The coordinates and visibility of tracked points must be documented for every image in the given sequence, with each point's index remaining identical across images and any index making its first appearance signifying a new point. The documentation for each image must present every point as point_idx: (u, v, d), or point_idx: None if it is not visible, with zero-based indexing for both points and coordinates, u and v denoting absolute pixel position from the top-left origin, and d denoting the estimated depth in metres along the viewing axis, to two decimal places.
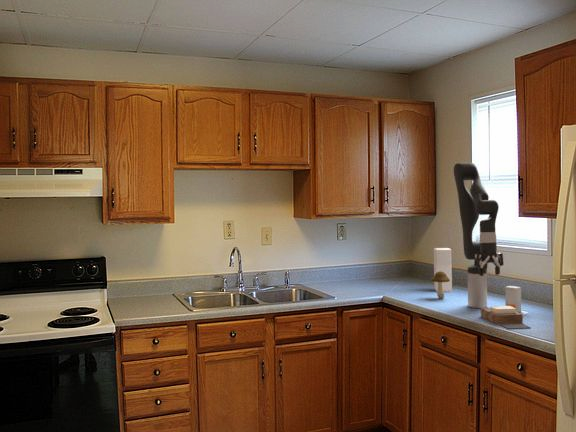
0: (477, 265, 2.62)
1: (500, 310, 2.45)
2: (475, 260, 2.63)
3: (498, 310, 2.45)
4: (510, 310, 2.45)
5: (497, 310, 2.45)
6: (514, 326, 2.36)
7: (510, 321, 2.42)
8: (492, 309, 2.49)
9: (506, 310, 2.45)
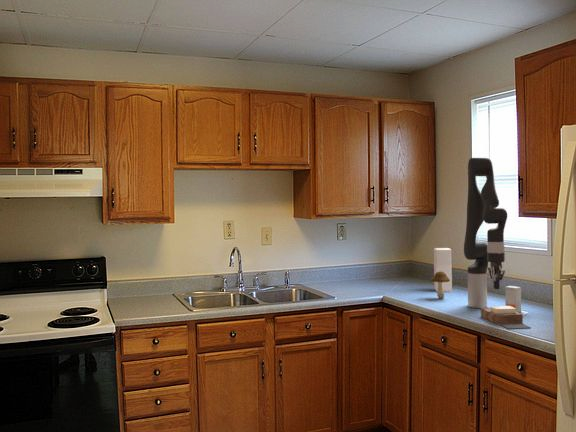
0: (501, 278, 2.52)
1: (500, 310, 2.45)
2: (500, 276, 2.50)
3: (498, 310, 2.45)
4: (510, 310, 2.45)
5: (497, 310, 2.45)
6: (514, 326, 2.36)
7: (510, 321, 2.42)
8: (492, 309, 2.49)
9: (506, 310, 2.45)
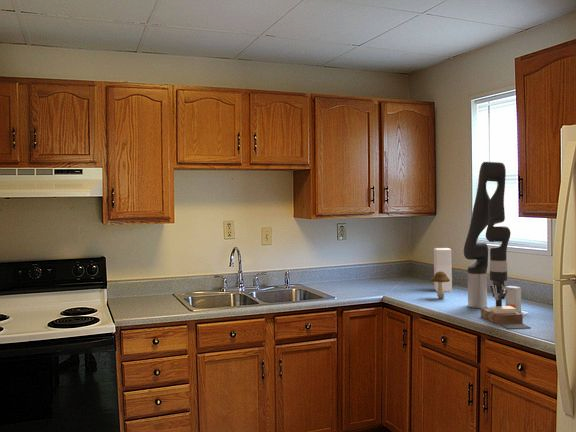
0: (504, 297, 2.49)
1: (500, 310, 2.45)
2: (502, 295, 2.48)
3: (498, 310, 2.45)
4: (510, 310, 2.45)
5: (497, 310, 2.45)
6: (514, 326, 2.36)
7: (510, 321, 2.42)
8: (492, 309, 2.49)
9: (506, 310, 2.45)
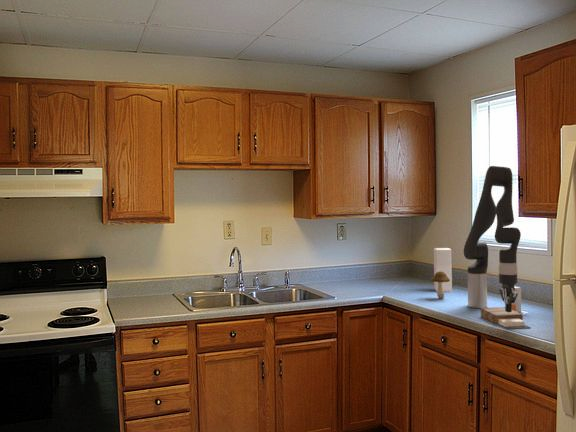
0: None
1: (508, 323, 2.36)
2: (512, 299, 2.38)
3: (506, 323, 2.36)
4: (518, 323, 2.36)
5: (505, 323, 2.36)
6: (514, 326, 2.36)
7: None
8: (500, 322, 2.40)
9: (514, 323, 2.36)
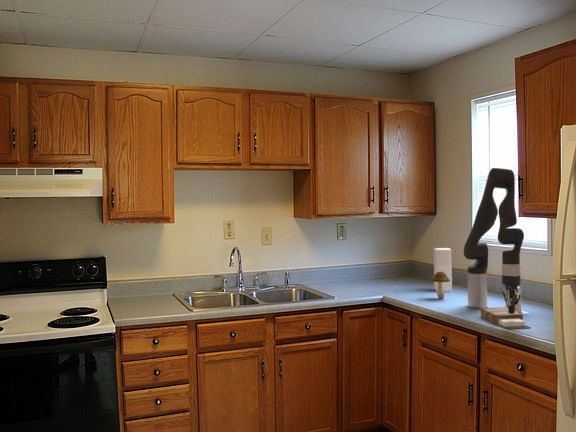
0: None
1: (508, 323, 2.36)
2: (515, 300, 2.35)
3: (506, 323, 2.36)
4: (518, 323, 2.36)
5: (505, 323, 2.36)
6: (514, 326, 2.36)
7: None
8: (500, 322, 2.40)
9: (514, 323, 2.36)
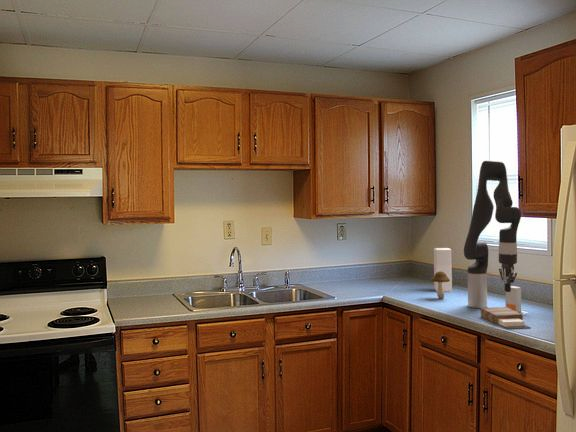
0: None
1: (508, 323, 2.36)
2: (511, 278, 2.38)
3: (506, 323, 2.36)
4: (518, 323, 2.36)
5: (505, 323, 2.36)
6: (514, 326, 2.36)
7: None
8: (500, 322, 2.40)
9: (514, 323, 2.36)
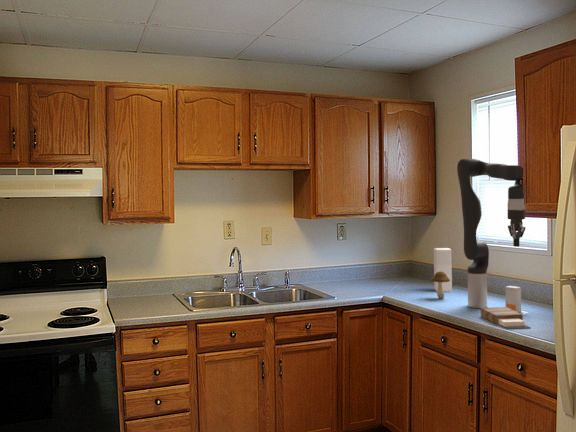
0: (522, 235, 2.50)
1: (508, 323, 2.36)
2: (520, 233, 2.49)
3: (506, 323, 2.36)
4: (518, 323, 2.36)
5: (505, 323, 2.36)
6: (514, 326, 2.36)
7: None
8: (500, 322, 2.40)
9: (514, 323, 2.36)
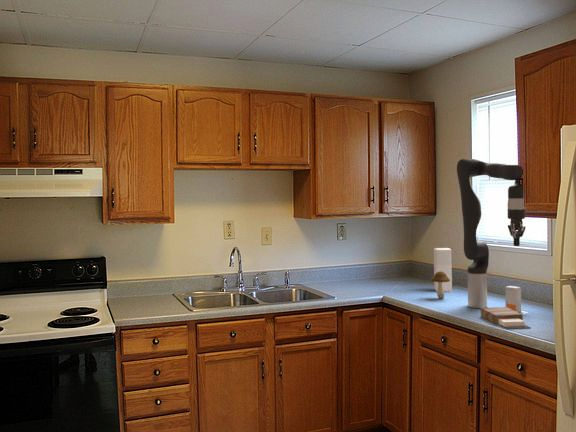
0: None
1: (508, 323, 2.36)
2: (520, 232, 2.49)
3: (506, 323, 2.36)
4: (518, 323, 2.36)
5: (505, 323, 2.36)
6: (514, 326, 2.36)
7: None
8: (500, 322, 2.40)
9: (514, 323, 2.36)
